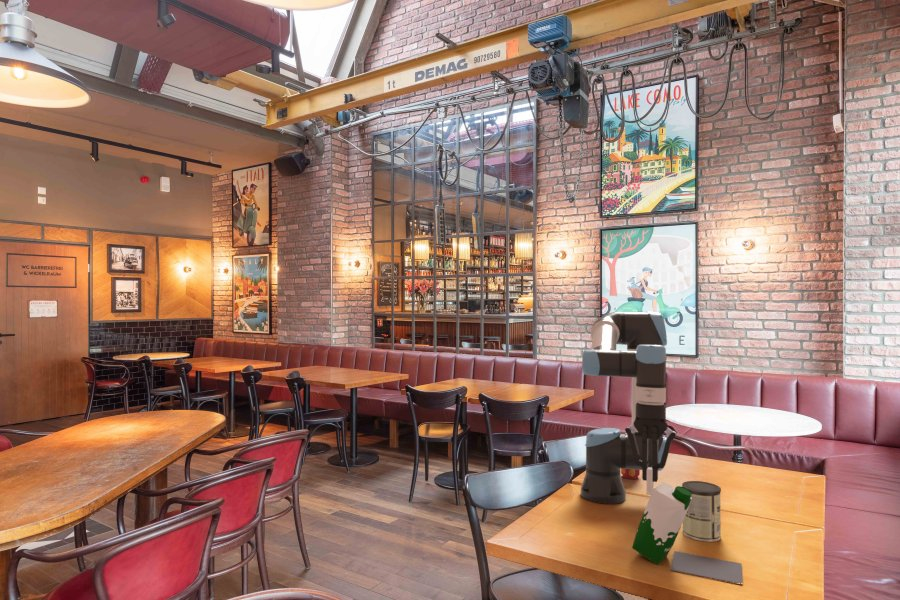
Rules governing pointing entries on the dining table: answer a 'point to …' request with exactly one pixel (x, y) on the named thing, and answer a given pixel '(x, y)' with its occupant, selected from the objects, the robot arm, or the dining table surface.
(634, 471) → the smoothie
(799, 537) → the dining table surface
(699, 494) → the coffee can
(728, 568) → the mat
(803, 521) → the dining table surface
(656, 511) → the soya milk
